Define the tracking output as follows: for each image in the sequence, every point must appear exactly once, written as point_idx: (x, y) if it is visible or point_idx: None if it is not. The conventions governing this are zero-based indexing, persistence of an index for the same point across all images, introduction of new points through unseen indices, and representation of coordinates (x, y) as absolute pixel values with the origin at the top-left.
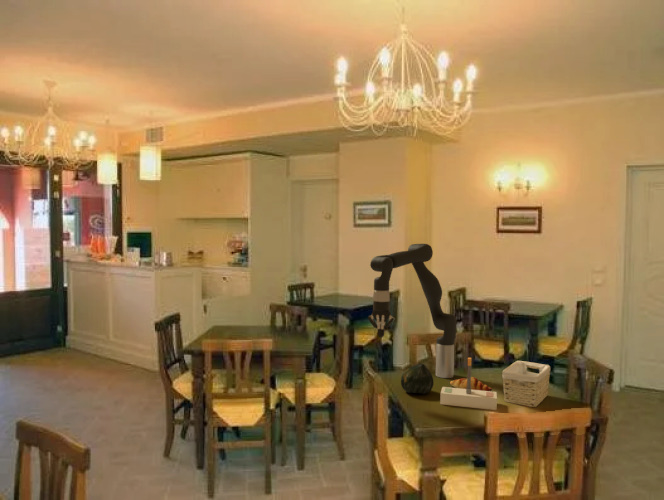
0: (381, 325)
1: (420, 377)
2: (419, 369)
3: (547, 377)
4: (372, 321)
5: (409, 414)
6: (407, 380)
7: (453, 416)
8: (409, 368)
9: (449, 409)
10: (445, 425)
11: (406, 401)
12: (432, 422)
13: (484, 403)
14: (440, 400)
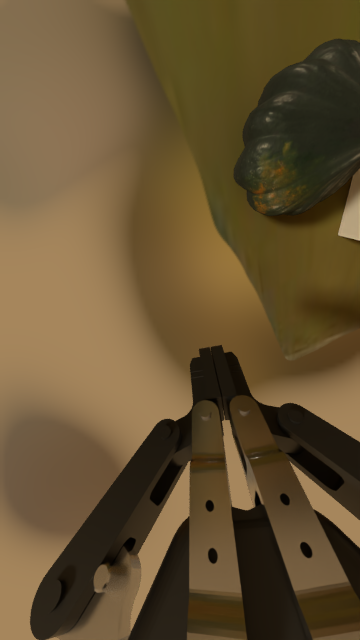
0: (244, 464)
1: (323, 197)
2: (340, 176)
3: None
4: (148, 523)
5: (270, 321)
6: (269, 213)
7: (352, 293)
8: (292, 169)
9: (353, 259)
10: (329, 334)
11: (256, 257)
12: (309, 333)
13: None
14: (345, 236)
